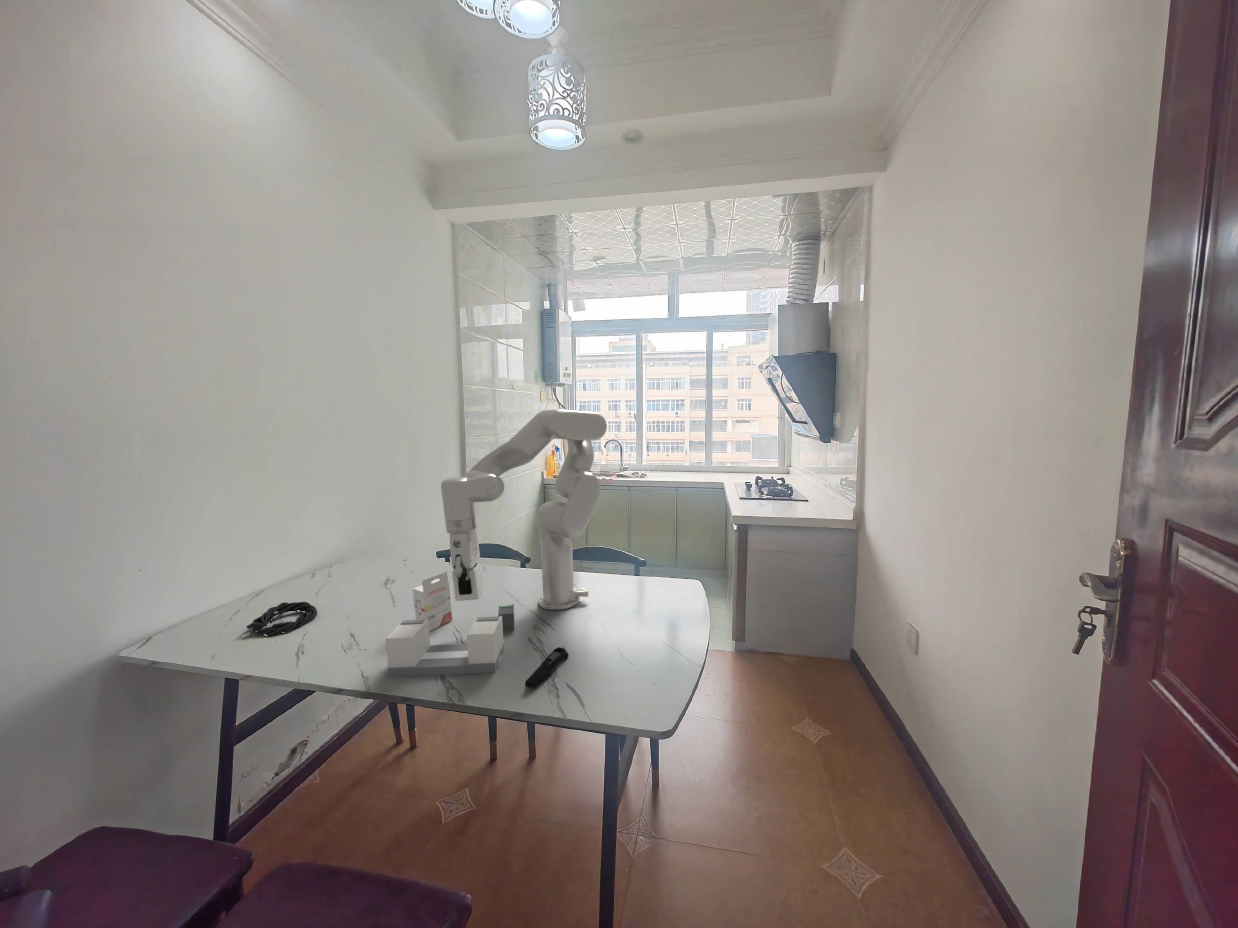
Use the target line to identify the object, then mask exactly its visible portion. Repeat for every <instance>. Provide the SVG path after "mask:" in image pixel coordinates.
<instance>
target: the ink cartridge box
mask: <svg viewBox="0 0 1238 928" xmlns="http://www.w3.org/2000/svg"><path fill="white" fill-rule="evenodd" d="M421 584H422V585H419V586H417V587H413V588H412V594H413V595H412V596H413V605H414V615H415V616H414V617H415V620H426V619H428V626H429V632H431V631H433V630H435V629H437V628H440V627H441V626H443V625H445V624H447V623H450V622H451V621H453V614H452V603H451V602H452V601H451V600H452V599H451V589H450V588H451V587H450V581H449V576H448V572H447V571H444V572H442V573H439V574H436V575H433V576H430V577H428V578H425V579H423V580H422V581H421Z"/></svg>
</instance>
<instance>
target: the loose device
mask: <svg viewBox="0 0 1238 928" xmlns="http://www.w3.org/2000/svg"><path fill="white" fill-rule="evenodd" d="M514 605H515V604H513V603H508V604H506V603H505V604H500V605H499V606H498V613H497V616H502V624H503V633H504V632H510V631H511V632H512V631H515V606H514Z"/></svg>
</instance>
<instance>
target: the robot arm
mask: <svg viewBox="0 0 1238 928" xmlns="http://www.w3.org/2000/svg"><path fill="white" fill-rule="evenodd" d="M607 428H608V423H607V420H606V419H605V417H604V416H603V415H602V414H600V413H598V412H595V411H581V410H569V409H568V410H567V409H559V408H558V409H545V410H544V409H543V410H541V411H539V412H538V413H536V415H534V416H533V417H532V418H531V419H530V420H529V421H528V422H527V423H525V425H524V426H523V427H522V428H521V429H520V430H519V431H518V432H517V433H515V434H514V435H513V436H512V437H511V438H510V439H509V440H508V441H506V442H504V443H503V444H501V445H500V446H499V447H497V448H496V449H494V450H492V451H491V452H489V453H488V454H486V455H485V456H483V457H482V458H481V459H480V460H478V462H477V463H475V464H474V465H473V467H471V468H470V470H468V471H467V473H465V476H456V477H448V478H446V479H443V480H442V481H441V483H440V490H441V498H442V506H443V507H442V508H443V515H444V523H445V530H446V533H447V534H449V551H450V560H451V561H450V562H451V568H452V569H453V570H455V575H456V577H457V581H458V588H459V594H460V595H467V594H471V593H472V588H471V579H469V569H472V568H473V567H474V565H475V564H476V563H478V561H479V560H480V559H481V553H480V551H481V550H480V545H479V540H478V535H477V530H476V528H477V520H476V514H475V513H476V512H475V511H476V510H475V504H474V503H485V502H487V503H488V502H493V501H496V500H498V499H499V498H500V497H502V496H503V493H504V491H505V484H504V481H503V479H502V478H501V476H502V475H503V474H504V473H507V472H508V471H510V470H513V469H516V468H518V467H522V466H525V465H527V464H530V463H531V462H532V461H533V460H534V459H535V458H536V457H537V456H538V455H539V454H540V453H541V452H542V451H543V450H544V449H545V448H546V447H547V446H548V445H549V444H550V443H551V442H552V441H554V440H566V442H567V454H566V456H565V459H564V461H563V464H562V466H561V468H560V470H559V473H558V475H557V477H556V479H555V483H554V493H555V494H556V495H557V497H559V498H560V499H564V500H567V501H566V502H562V501H557V500H549V501H547V502H544V503H543V504H542V505H541V506H539V508H538V510H537V512H536V525H537V530H538V535H539V541H540V542H539V543H540V554H541V555H540V556H541V557H540V559H541V577H542V580H541V581H542V595H541V596H539V598H538V600H537V603H538V605H539V607H540V608H541V609H545V610H548V611H549V610H550V611H560V610H566V609H569V608H572V607H574V606H576V605H577V604H578V603H579V602H580V598H581V597H583V598H586V597H589V590H588V589H587V590H585V589H586V588H584V587H583V588H578V587H576V583H574V560H573V542H572V539H576V538H578V537H579V536H581V535H582V534H583V533H584V531H585V530H586V529H587V526H588V524H589V522H590V519H591V517H592V514H593V512H594V509H595V508H596V505H597V502H598V500H599V497H600V492H601V484H600V480H599V479H598V476H597V475H595V474H594V473H592V472H590V471H591V468H592V466H593V464H594V459H595V451H594V446H593V443H592V442H593V441H598V440H600V439H601V438H603V437H604V436H605V434H606V432H607ZM462 566H465V568H462ZM462 571H465V573H462Z"/></svg>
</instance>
